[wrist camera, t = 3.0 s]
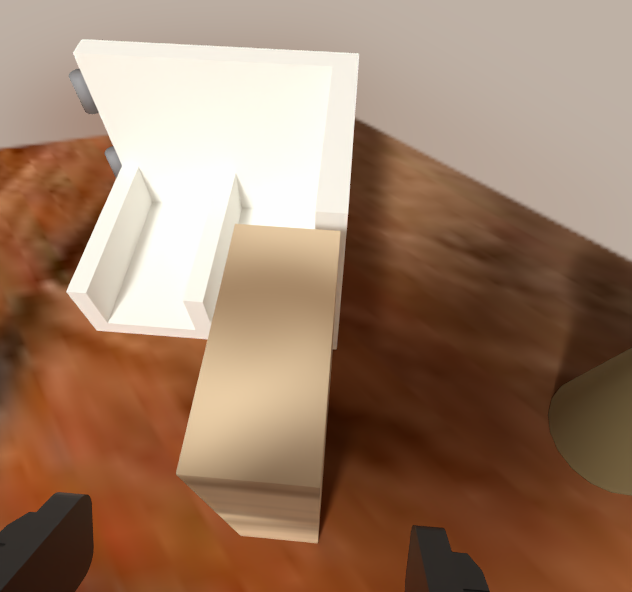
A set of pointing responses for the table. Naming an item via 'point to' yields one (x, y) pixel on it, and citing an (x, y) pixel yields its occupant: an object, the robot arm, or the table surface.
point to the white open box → (206, 170)
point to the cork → (597, 424)
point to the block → (266, 384)
